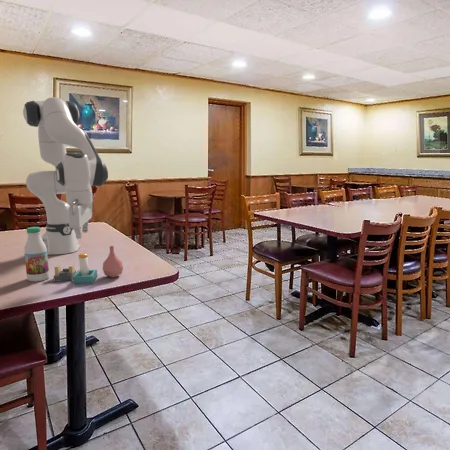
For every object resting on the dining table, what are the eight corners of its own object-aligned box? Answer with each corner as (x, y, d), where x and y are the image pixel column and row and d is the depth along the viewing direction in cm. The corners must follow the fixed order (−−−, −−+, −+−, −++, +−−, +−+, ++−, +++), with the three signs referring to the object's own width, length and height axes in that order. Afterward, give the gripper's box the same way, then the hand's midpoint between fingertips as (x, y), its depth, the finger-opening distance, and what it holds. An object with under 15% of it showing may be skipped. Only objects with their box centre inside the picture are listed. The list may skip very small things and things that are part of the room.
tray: (73, 284, 142) (72, 276, 141) (78, 277, 150) (78, 270, 149) (92, 283, 143) (92, 276, 142) (97, 277, 151) (96, 269, 150)
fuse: (79, 279, 146) (77, 254, 144) (86, 276, 148) (84, 253, 146) (84, 280, 144) (81, 256, 142) (91, 278, 146) (88, 254, 145)
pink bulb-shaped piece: (124, 272, 156) (123, 243, 153) (122, 279, 148) (120, 248, 146) (104, 273, 154) (102, 244, 152) (101, 280, 147) (99, 249, 145)
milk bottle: (24, 278, 149) (18, 227, 145) (45, 274, 154) (40, 224, 151) (31, 283, 144) (25, 230, 140) (52, 278, 149) (47, 227, 145)
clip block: (54, 281, 146) (52, 268, 145) (59, 275, 152) (58, 263, 151) (71, 280, 147) (70, 267, 146) (76, 275, 153) (75, 262, 152)
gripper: (81, 202, 131) (84, 241, 134) (94, 194, 151) (96, 229, 153) (61, 202, 130) (65, 242, 133) (77, 194, 150) (80, 229, 153)
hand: (82, 235), depth 143 cm, fingers open, 8 cm apart
